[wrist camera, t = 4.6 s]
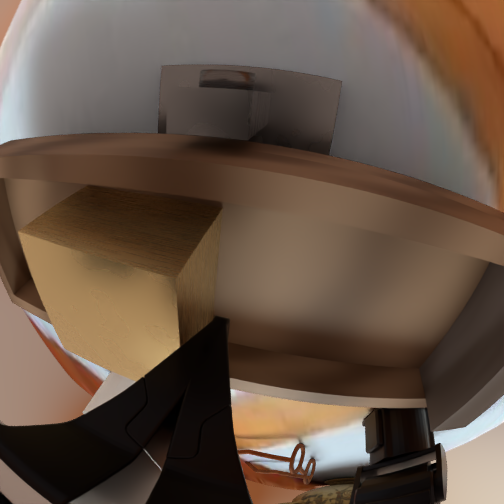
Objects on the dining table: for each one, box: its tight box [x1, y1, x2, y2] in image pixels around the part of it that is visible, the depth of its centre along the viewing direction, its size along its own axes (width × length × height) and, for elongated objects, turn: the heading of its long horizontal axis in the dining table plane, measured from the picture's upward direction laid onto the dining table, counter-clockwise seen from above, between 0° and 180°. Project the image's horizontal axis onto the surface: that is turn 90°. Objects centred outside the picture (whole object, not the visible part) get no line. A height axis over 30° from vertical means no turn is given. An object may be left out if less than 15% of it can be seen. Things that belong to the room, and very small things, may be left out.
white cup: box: [83, 371, 136, 414], centre depth 26 cm, size 7×7×7 cm
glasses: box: [238, 443, 316, 484], centre depth 33 cm, size 13×13×5 cm
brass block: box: [18, 186, 223, 381], centre depth 10 cm, size 6×6×4 cm
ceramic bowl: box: [281, 478, 355, 504], centre depth 39 cm, size 30×24×10 cm
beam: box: [0, 133, 504, 432], centre depth 10 cm, size 28×10×6 cm, turn 84°
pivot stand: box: [158, 65, 342, 155], centre depth 13 cm, size 8×16×6 cm, turn 174°
